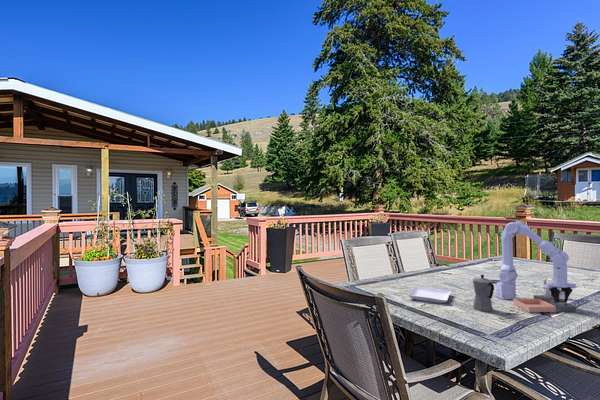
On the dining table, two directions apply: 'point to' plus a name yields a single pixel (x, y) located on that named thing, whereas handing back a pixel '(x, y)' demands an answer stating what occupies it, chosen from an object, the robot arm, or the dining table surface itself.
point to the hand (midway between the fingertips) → (560, 301)
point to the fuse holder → (560, 308)
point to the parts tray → (534, 305)
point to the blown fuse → (561, 298)
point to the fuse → (546, 293)
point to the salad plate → (430, 294)
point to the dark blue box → (546, 283)
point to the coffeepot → (483, 294)
